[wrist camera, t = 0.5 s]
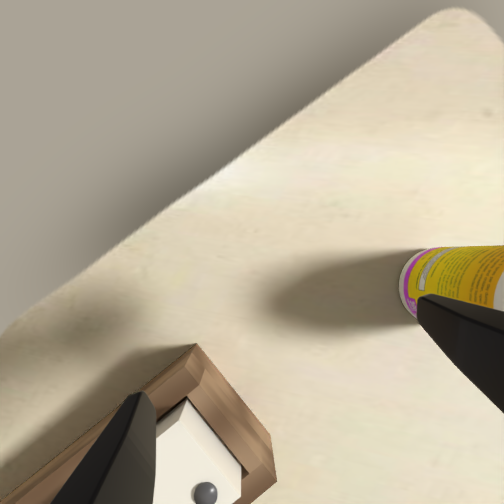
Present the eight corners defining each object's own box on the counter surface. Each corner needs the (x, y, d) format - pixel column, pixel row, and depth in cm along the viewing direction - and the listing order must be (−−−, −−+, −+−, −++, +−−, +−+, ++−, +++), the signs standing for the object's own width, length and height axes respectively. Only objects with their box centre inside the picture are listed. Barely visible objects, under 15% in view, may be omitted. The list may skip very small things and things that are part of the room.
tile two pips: (241, 463, 18) (240, 499, 15) (174, 519, 18) (161, 565, 15) (188, 397, 18) (178, 422, 15) (120, 452, 18) (97, 487, 15)
